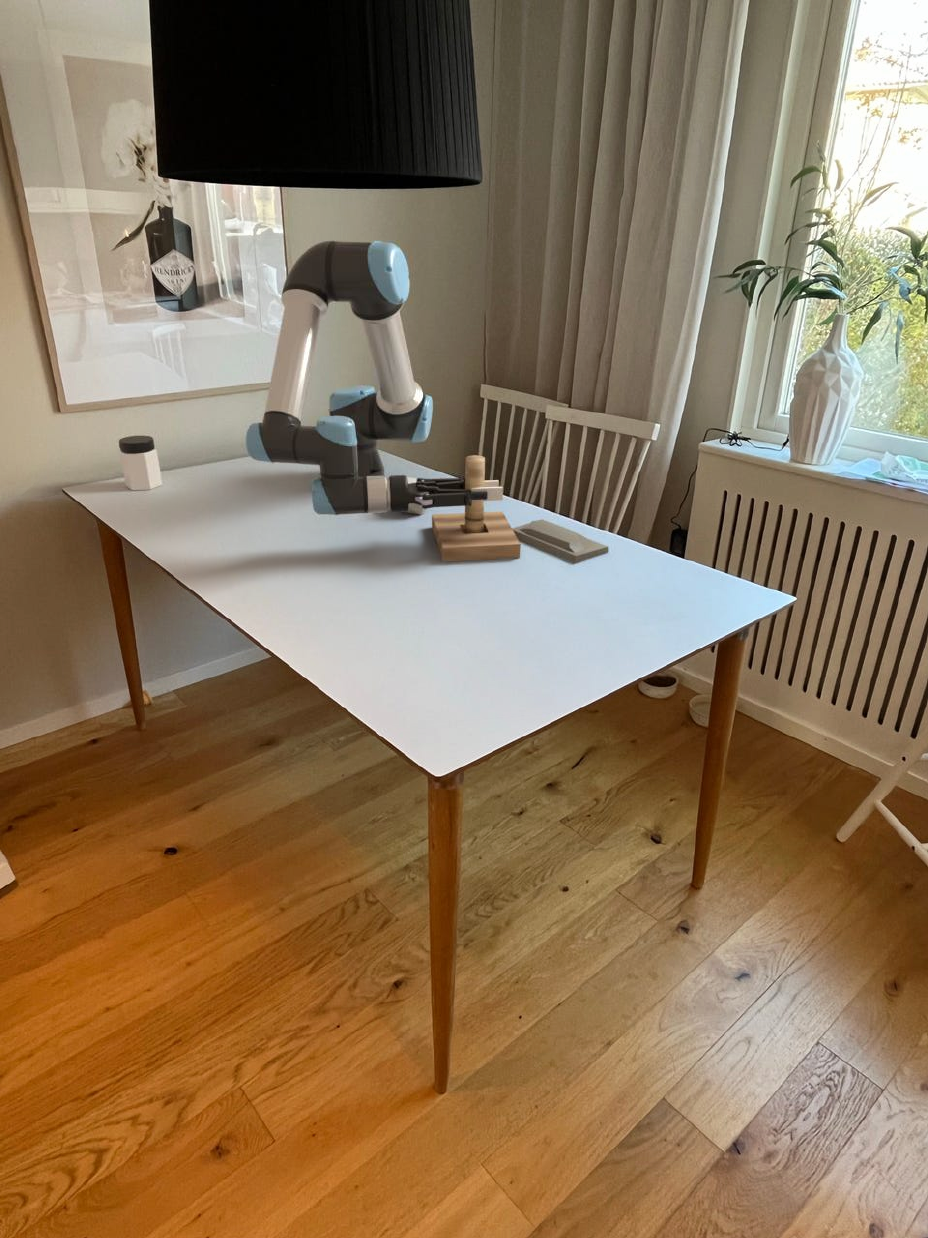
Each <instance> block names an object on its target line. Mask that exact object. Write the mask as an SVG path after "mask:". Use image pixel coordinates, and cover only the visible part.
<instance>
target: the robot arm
mask: <svg viewBox="0 0 928 1238" xmlns="http://www.w3.org/2000/svg"><path fill="white" fill-rule="evenodd" d="M409 271H410V270H409V266H408V262H407V259H406V257H405V254H404V252H403V250H402V249H401V248H400V247H399V246H398V245H397V244H395V243H393V242H385V241H384V242H383V241H380V240H374V241H371V242H369V241H367V242H366V241H363V242H362V241H338V240H337V241H336V240H325V241H321V242H319V243H315V244H314V245H312V246H310V247H309V248H308V249H306V250H305V252H303V253H302V254H301V255H300V256H299V258H297V260H296V261H295V262H294V264H293V266H292V267H291V269H290V270H289V272H288V274H287V276H286V279H285V282H284V284H283V287H282V288H283V289H282V292H281V293H282V294H281V298H280V300H281V304H282V306H283V307H284V308H283V314H282V319H281V320H282V321H281V325H280V329H279V335H278V341H277V345H276V350H275V356H274V362H273V366H272V372H271V377H270V382H269V387H268V393H267V399H266V401H265V403H266V404H265V409H264V413H263V418H262V422H253V423H251V424H250V425H249V428H248V429H247V431H246V435H245V446H246V450H247V451H246V452H248V455H249V457H251V458H252V459H253V460H255V461H259V462H267V463H271V464H274V463H280V464H281V463H283V464H299V465H312V466H319V474H320V475H319V476H318V477H314V478H313V479H312V480H311V497H312V509H313V511H314V513H316V514H318V515H333V516H338V515H353V514H355V515H356V514H372V515H374V516H377V515H378V513H379V514H380V513H388V511H390V512H391V513H406V512H407V511H408V508H409V503H414V504H418V505H422V508H424V509H426V510H427V509H431V508H446V507H449V508H450V507H462V506H463V507H465V506H468V505H469V506H471V505H472V501H484V502H491V501H492V502H494V501H495V502H496V501H499V502H500V501H503V498H504V497H503V496H504V488H503V486H500V481H499V479H494V480H490V479H489V480H485V483H484V487H479V488H471V490H470V489H468V490H465V476H463V478H462V477H450V478H447V477H446V478H440V477H439V478H425V477H424V478H423V477H417V482H416V483H409V484H408V481H407V477H408V476H407V475H405V474H399V475H398V474H397V475H392V474H391V475H390V476H388V477H387V476H386V475H385V467H384V464H383V461H382V458H381V455H380V454H379V450H378V447H377V444H378V443H377V441H388V442H389V441H390V442H401V443H422V442H425V441H426V440H427V439H428V437H429V434H430V430H431V425H432V419H433V412H434V411H433V410H434V401H433V397H432V396H431V395H428V394H425V395H424V393H423V389H422V387H421V385H420V384H419V383H417V382H416V381H415V379H414V375H413V370H412V365H411V364H412V363H411V360H410V356H409V351H408V346H407V341H406V337H405V331H404V327H403V322H402V318H401V313H400V311H401V309H403V306H404V304H405V302H406V301H407V299H408V297H409V293H410V282H411V281H410V278H409V275H410V272H409ZM331 302H339V303H349V304H350V308H351V311H352V314H353V315H354V316H355V317H356V318H357V319H359V320H361V323H362V327H363V330H364V335H365V338H366V343H367V345H368V348H369V349H368V350H369V353H370V357H371V361H372V366H373V369H374V372H375V377H376V380H377V385H378V388H379V389H378V391H377V392H376V389H375V387H374V386H373V385H367V384H366V385H365V384H364V385H354V386H348V387H344V388H340V389H337V390H334V391H332V392H331V393H330V395H329V399H328V400H329V401H328V403H329V405H328V407H329V409H328V412H329V413H328V414H329V415H326V416H323V417H320V418H318V420H317V421H316V426H310V425H302V419H303V413H304V410H305V409H304V407H305V402H306V397H307V391H308V387H309V382H310V375H311V371H312V367H313V360H314V356H315V349H316V344H317V339H318V334H319V329H320V324H321V318H322V317H324V316H325V315H326V314H327V312H328V310H329V309H328V308H329V304H330V303H331Z"/></svg>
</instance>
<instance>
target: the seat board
mask: <svg viewBox="0 0 928 1238" xmlns="http://www.w3.org/2000/svg"><path fill="white" fill-rule="evenodd" d="M431 528H432V531H433V535H434V537H435V541H436V544H437V547H438V551H439V553H440V557H441V561H442V562H444V563H445V562H460V561H461V562H463V561H482V560H484V561H485V560H499V559H500V560H502V559H504V560H505V559H520V558H521V547H522V544H521V542H520V540H518V538H517V537H516V535H515V533H514V531H513V530H512V528H513V527H512V526H511V525H510V522H509V521H508V519H507V517H506V516H505V513H504V511H486V512H485V511H484V529H483V533H470V534H466V533H465V512H461V513H459V512H457V513H456V512H455V513H435V514H434V513H433V514H431Z"/></svg>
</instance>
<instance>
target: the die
mask: <svg viewBox="0 0 928 1238" xmlns="http://www.w3.org/2000/svg"><path fill="white" fill-rule="evenodd" d="M406 477H407V481H408V484H409V483H416V482H417V478H418V477H417V478H416V477H408V476H406ZM426 510H427V509H424V508H422V505H418V504H414V503H409V508H408V511H407V512H405V513H407V514H414V515H419V516H422V515H423V513H425V511H426Z"/></svg>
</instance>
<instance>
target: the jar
mask: <svg viewBox="0 0 928 1238" xmlns="http://www.w3.org/2000/svg"><path fill="white" fill-rule="evenodd" d="M118 448H119V451H118V453H119V457H120V458H119V459H120V463H121V468H122V474H123V479H124V483H125V486H126V488H127V489H130V490H131V491H132V492H133V491H150V490H154V489H156V488H158V487H160V486H162V485H163V480H162V474H161V468H160V467H161V466H160V462H159V456H158V451H157V449H156V447H155V441H154V437H152V436H150V435H131V436H130V435H129V436H125V437H122V438H120V439H118Z"/></svg>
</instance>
